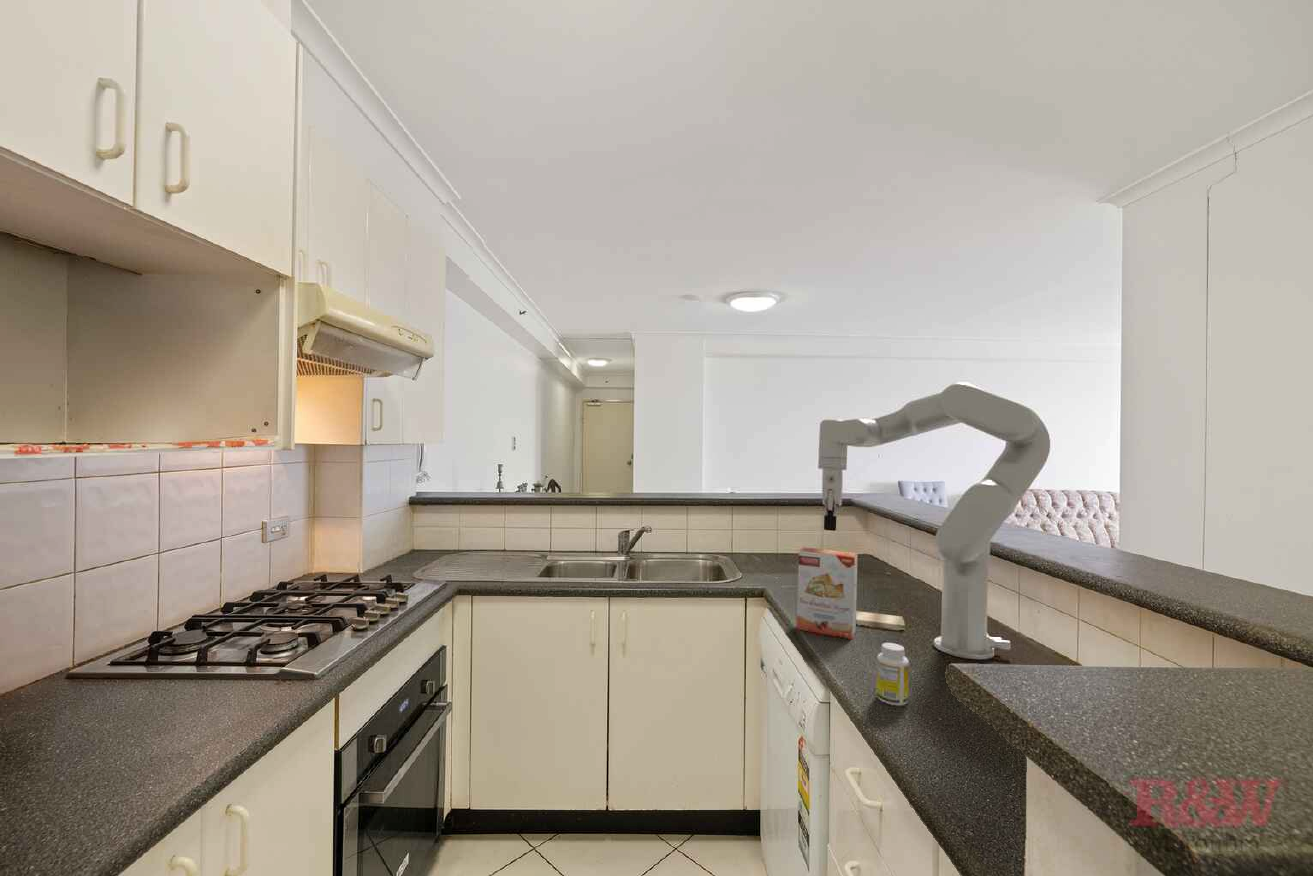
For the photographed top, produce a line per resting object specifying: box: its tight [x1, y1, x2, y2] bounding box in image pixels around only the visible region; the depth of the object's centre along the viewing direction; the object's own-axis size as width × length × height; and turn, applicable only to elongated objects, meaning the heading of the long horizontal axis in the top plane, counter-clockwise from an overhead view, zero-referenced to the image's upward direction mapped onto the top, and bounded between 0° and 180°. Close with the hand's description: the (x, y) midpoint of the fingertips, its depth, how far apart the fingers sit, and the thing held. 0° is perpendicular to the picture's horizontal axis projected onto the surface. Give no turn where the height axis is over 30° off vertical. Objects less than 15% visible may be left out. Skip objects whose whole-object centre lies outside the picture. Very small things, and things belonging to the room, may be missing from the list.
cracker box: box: [796, 546, 859, 640], centre depth 142 cm, size 14×6×21 cm, turn 62°
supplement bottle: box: [876, 642, 910, 707], centre depth 105 cm, size 6×6×10 cm
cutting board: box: [856, 610, 906, 632], centre depth 150 cm, size 12×8×2 cm, turn 71°
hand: (829, 529), depth 153 cm, fingers closed
